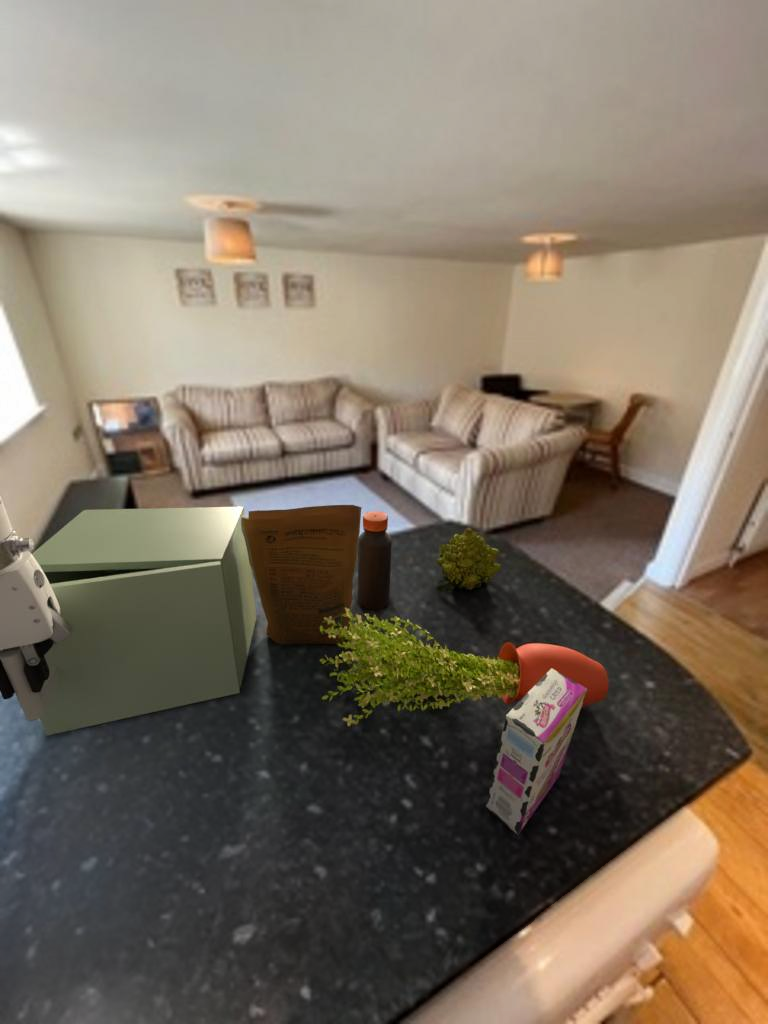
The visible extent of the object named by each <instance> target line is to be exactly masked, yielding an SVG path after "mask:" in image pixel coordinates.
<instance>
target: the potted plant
mask: <svg viewBox="0 0 768 1024" xmlns="http://www.w3.org/2000/svg"><path fill="white" fill-rule="evenodd" d="M345 610H346V614H343V615H342V616H344V617H349V618H351V619H350V621H351V622H350V621H349V622H348V623H349V624H350V626H349V630H347V626H345V627H344V629H343V628H342V626H341V624H340V623H339V622H338V625H339V626H340V628H337V629H334V626H337V624H336V623H335V621H334V618H333V620H331V619H332V617H331V616H329V619H328V618H326V617H324V619H325V621H323V622H326V621H328V622H327V623H328V624H327V625H329V624H331V623H332V624H333V626H332V627H330V628H331V630H330V628H328V629H327V630H325V629H323V627H322V625H321V626H320V631H321V632H322V631H324V632H325V633H328V634H329V635H328V637H329V638H331V637H333V638H336V636H337V635H339V638H340V637H343V635H344V637H345V639H346V641H347V642H346V641H343V642H341V643H339V644H338V643H337V644H336V645H337V646H338V647H339V648H344V650H347V649H351V650H352V651H350V650H348V651H345V652H344V651H343V650H342V651H341V653H340V654H339V655H335V659H333V658H332V657H329V658H328V656H327V655H326V654H324V656H325V658H326V659H324V658H320V659H319V662H320V663H321V664H325V663H326V664H325V665H324V667H326V666H327V665H334V664H335V665H334V667H336V668H333V671H334V672H330V673H329V677H333V676H336V677H337V678H336V681H337V682H339V683H343V684H344V687H343V686H342V685H339V686H338V685H336V687H337V689H338V690H339V691H332V690H328V691H327V693H328V694H329V695H323V696H322V697H321V700H327V699H328V698H329V696H330V698H329V701H328V702H331V701H332V699H333V697H334V696H338V694H339V696H340V697H341V695H343V693H345V692H347V691H350V690H352V689H353V686H355V687H356V688H354V689H353V690H352V692H354V691H356V692H355V694H360V696H357V697H354V699H353V701H358V704H357V705H358V707H361V708H362V709H361V710H362V712H363V713H364V714H361V715H359V714H353V715H352V714H349V715H348V718H347V717H342V721H343V722H346V723H347V724H346V725H347V727H351V725H355V726H357V725H358V724H359V722H360V721H359V720H361V719H364V716H365V720H367V719H368V716H369V715H371V714H372V713H373V710H374V709H376V708H377V706H379V705H380V704H382V706H383V707H385V706H386V705H389V704H390V703H391V702H393V703H395V702H396V703H399V702H400V701H401V702H402V703H399V704H398V705H397V711H398V712H400V711H401V710H404V709H407V710H408V711H410V712H413V711H416V709H418V710H419V709H421V711H422V712H424V711H425V710H426V709H427V708H429V707H431V708H432V709H433V710H435V709H436V710H437V709H438V708H439V709H440V710H442V709H443V707H448V708H449V707H450V705H451V704H452V703H454V702H455V704H459V705H460V704H461V702H462V701H464V700H465V699H469V700H472V701H473V702H474V701H475V702H476V701H479V700H480V701H483V698H482V697H484V696H486V698H487V699H489V698H492V697H493V696H494V697H495V698H497V697H498V698H499V700H502V701H503V702H504V703H505V705H513V704H514V702H515V701H516V700H517V701H518V702H519V701H520V700H521V699H522V698H523V697H524V696H525V695H526V694H527V693H528V692H529V691H530V690H531V689H532V688H533V687H534V686H535V685H536V684H537V683H538V682H539V681H540V680H541V679H542V678H543V676H545V675H546V674H547V672H548V671H549V670H550V669H551V668H552V669H554V670H556V671H557V672H559V673H561V674H562V675H564V676H565V677H567V678H569V679H571V680H573V681H574V682H576V683H578V684H580V685H581V686H583V687H585V688H586V689H587V691H586V694H585V697H584V700H583V704H582V707H581V709H583V708H585V707H587V706H590V705H593V704H595V703H598V702H601V701H603V700H604V699H605V698H606V697H607V695H608V692H609V687H610V686H609V685H610V683H609V676H608V673H607V670H606V669H605V667H604V666H603V665H602V664H601V663H600V662H599V661H596V660H594V659H592V658H590V657H588V656H587V655H585V654H583V653H581V652H579V651H577V650H575V649H571V648H569V647H565V646H560V645H556V644H550V643H549V644H548V643H541V642H540V643H539V642H538V643H537V642H536V643H535V642H533V643H532V642H531V643H526V644H523V645H521V646H518V647H517V648H516V647H515V645H514V644H513V643H512V642H509V641H507V642H505V643H504V644H503V645H502V646H501V648H500V651H499V654H498V656H496V657H495V656H493V658H490V655H487V657H485V656H481V655H478V656H475V655H474V654H473V653H468V654H465V653H464V652H462V653H460V652H456V651H455V650H450V649H449V648H448V647H447V645H445V646H444V647H443V646H442V645H441V643H440V642H439V641H438V640H437V638H436V637H435V636H434V635H432V634H430V632H428V630H427V629H423V628H422V627H421V626H419V625H418V624H413V622H410V619H409V618H407V620H405V619H401V618H400V617H398V616H396V615H394V617H390V621H394V622H395V623H394V624H393V623H391V622H389V620H388V619H387V618H385V620H384V619H381V620H379V618H378V617H377V615H376V614H373V617H372V616H371V615H370V613H364V614H363V615H364V616H365V617H366V621H363V620H362V615H361V614H358V613H356V614H355V616H354V615H353V613H352V612H351V610H350V611H349V608H348V609H347V608H346V607H345ZM352 621H357V622H355V623H354V622H352ZM367 621H368V622H369V623H368V622H367ZM330 622H331V623H330ZM372 623H373V624H372ZM401 623H404V626H403V627H401ZM365 625H366V626H365ZM409 625H410V626H411V627H412V631H413V632H414V631H415V630H418V629H419V630H420V632H419V636H420V637H421V636H423V635H424V634H427V635H426V641H429V640H433V641H434V643H433V645H432V646H433V647H432V646H431V643H428V642H426V643H425V644H424V642H423V641H422V640H421V639H418V640H417V637H416V636H415V635H414V633H411V634H410V633H409V631H408V630H407V627H409ZM376 627H377V628H376ZM338 629H339V630H338ZM350 629H351V631H350ZM329 630H330V632H329ZM382 631H383V632H384V633H383V632H382ZM340 632H341V633H340ZM321 634H324V633H321ZM349 635H350V636H349ZM341 639H342V638H341ZM438 646H439V647H438ZM339 657H340V658H342V659H340V658H339ZM496 658H497V659H496ZM327 662H328V663H327ZM342 663H343V664H347V665H348V666H349V667H350V669H348V670H347V672H346V670H345V669H343V670H339V664H342ZM356 663H357V665H356ZM351 665H352V666H351ZM337 671H340V672H337ZM366 681H367V683H368V684H369V685H368V684H366V683H365V682H366ZM357 682H358V683H360V684H361V685H360V684H358V683H357ZM352 685H353V686H352ZM363 689H365V690H363ZM373 690H374V691H373ZM370 691H372V694H371V692H370ZM339 692H340V693H339ZM352 692H351V693H352ZM416 694H417V696H416ZM451 695H452V696H454V697H452V698H449V697H450V696H451ZM439 696H441V697H442V696H444V697H445V698H446V699H443V698H441V697H440V698H438V697H439ZM429 697H432V698H434V699H435V701H428V698H429ZM424 700H427V702H424ZM411 701H412V702H414V703H415V704H414V706H413V705H412V703H410V702H411ZM403 703H404V704H403ZM369 704H370V706H372V708H373V709H370V710H368V709H367V708H365V707H367V706H368V705H369ZM408 704H409V706H408ZM423 704H424V705H423ZM419 706H420V707H419ZM353 717H354V718H355V719H356V720H355V719H353Z"/></svg>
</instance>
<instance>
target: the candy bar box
mask: <svg viewBox="0 0 768 1024" xmlns="http://www.w3.org/2000/svg"><path fill="white" fill-rule="evenodd" d="M586 691H587V689H586V688H585V687H583V686H581V685H580V684H578V683H576V682H574V681H573V680H571V679H569V678H567V677H565V676H564V675H562V674H561V673H559V672H557V671H556V670H554V669H552V668H551V669H550V670H549V671H548V672H547V674H546V675H545V676H543V678H542V679H541V680H540V681H539V682H538V683H537V684H536V685H535V686H534V687H533V688H532V689H531V690H530V691H529V692H528V693H527V694H526V695H525V696H524V697H523V698H522V699H521V700H520V701H518V702H517V703H516V704H515V705H514V707H512V708H511V710H510V711H509V712H508V713H507V714H506V715H505V721H504V724H503V729H502V733H501V737H500V742H499V746H498V751H497V755H496V761H495V765H494V769H493V774H492V777H491V783H490V786H489V791H488V796H487V800H486V804H485V807H486V809H488V811H490V812H491V813H492V814H493V815H494V816H496V817H497V818H498V819H499V820H500V821H501V822H502V823H503V824H504V825H505V826H507V828H508V829H510V831H512V832H513V833H514V834H516V835H517V836H519V835H520V833H521V832H522V830H524V827H525V826H526V825H527V823H528V822H529V820H530V819H531V817H532V816H533V814H534V813H535V811H536V810H537V809H538V807H539V806H540V804H541V803H542V801H544V799H545V797H546V796H547V794H548V793H549V791H550V790H551V789H552V787H553V786H554V785H555V783H556V781H557V780H558V779H559V777H560V776H561V772H562V770H563V765H564V762H565V760H566V757H567V753H568V750H569V747H570V745H571V741H572V738H573V735H574V731H575V728H576V725H577V722H578V720H579V717H580V713H581V710H582V708H581V707H582V704H583V700H584V697H585V694H586Z"/></svg>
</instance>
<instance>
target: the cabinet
mask: <svg viewBox="0 0 768 1024" xmlns="http://www.w3.org/2000/svg"><path fill="white" fill-rule="evenodd" d="M241 517H246V516H245V507H244V506H210V507H209V506H207V507H206V506H205V507H204V506H203V507H160V508H157V507H156V508H113V509H112V508H110V509H109V508H107V509H106V508H105V509H102V508H101V509H83V510H82V511H81V512H80V513H78V514H77V515H76V516H75V517H74V518H72V519H71V520H70V521H69V522H68V523H66V525H64V526H63V527H62V528H61V529H60V530H58V531H57V532H56V533H55V534H54V535H52V536H51V537H50V538H49V539H48V540H46V541H45V542H44V543H42V544H41V546H39V547H38V548H37V549H36V550H35V551H33V552H32V553H31V554H32V555H33V557H34V558H35V559H36V561H37V562H38V564H39V565H40V567H41V569H42V570H43V572H44V574H45V576H46V577H47V579H48V581H49V583H50V584H54V583H61V582H69V581H76V580H83V579H91V578H98V577H106V576H113V575H121V574H128V573H135V572H143V571H150V570H158V569H165V568H172V567H180V566H187V565H195V564H202V563H209V562H217V561H221V566H222V573H223V580H224V587H225V593H226V600H227V607H228V614H229V621H230V628H231V634H232V641H233V648H234V655H235V662H236V669H237V675H238V682H239V689H240V688H241V687H242V682H243V678H244V674H245V669H246V665H247V662H248V661H247V660H248V656H249V651H250V648H251V645H252V640H253V634H254V631H255V625H256V621H257V612H256V611H257V610H256V604H255V603H256V601H255V594H254V587H253V586H254V584H253V577H252V576H253V574H252V568H251V565H250V563H249V557H248V552H247V547H246V543H245V538H244V535H243V533H242V527H241Z"/></svg>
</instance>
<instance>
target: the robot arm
mask: <svg viewBox="0 0 768 1024" xmlns="http://www.w3.org/2000/svg"><path fill="white" fill-rule="evenodd" d="M34 547H35V543H34V540H33V538H32V537H22V536H21V537H20V536H19V535H18V534H17V531H16V529H13V526H12V523H11V521H10V518H9V515H8V512H7V510H6V507H5V504H4V501H3V498H2V495H1V494H0V652H1V651H2V649H8V648H13V647H18V646H20V648H21V651H22V653H23V655H24V657H25V661H26V664H25V667H24V673H25V675H26V678H27V680H28V683H29V685H30V687H31V690H32V692H34V693H37V692H41V689H42V687H43V684H44V682H45V680H48V678H49V674H50V671H49V668H48V665H47V662H46V660H45V657H44V655H45V654H46V653H47V652H48V651H49V650H50V649H51V647H52V646H53V645H55V644H58V643H60V642H61V641H63V640H65V639H67V638H69V637H70V636H71V633H72V630H73V627H72V626H71V625H70V624H69V623H68V622H66V621H65V620H64V619H63V618H62V617H61V616H60V615H61V610H60V606H59V604H58V601H57V598H56V596H55V594H54V592H53V590H52V587H51V585H50V583H49V581H48V579H47V577H46V576H45V574H44V572H43V570H42V569H41V567H40V565H39V564H38V562H37V561H36V559H35V558H34V557H33V555H32V553H31V552H30V551H32V550H34ZM0 694H1V697H2V699H3V700H9V699H11V698H13V696H14V695H15V692H14V690H13V687H12V685H11V683H10V680H9V678H8V676H7V673H6V671H5V669H4V666H3V664H2V662H1V660H0Z"/></svg>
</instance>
